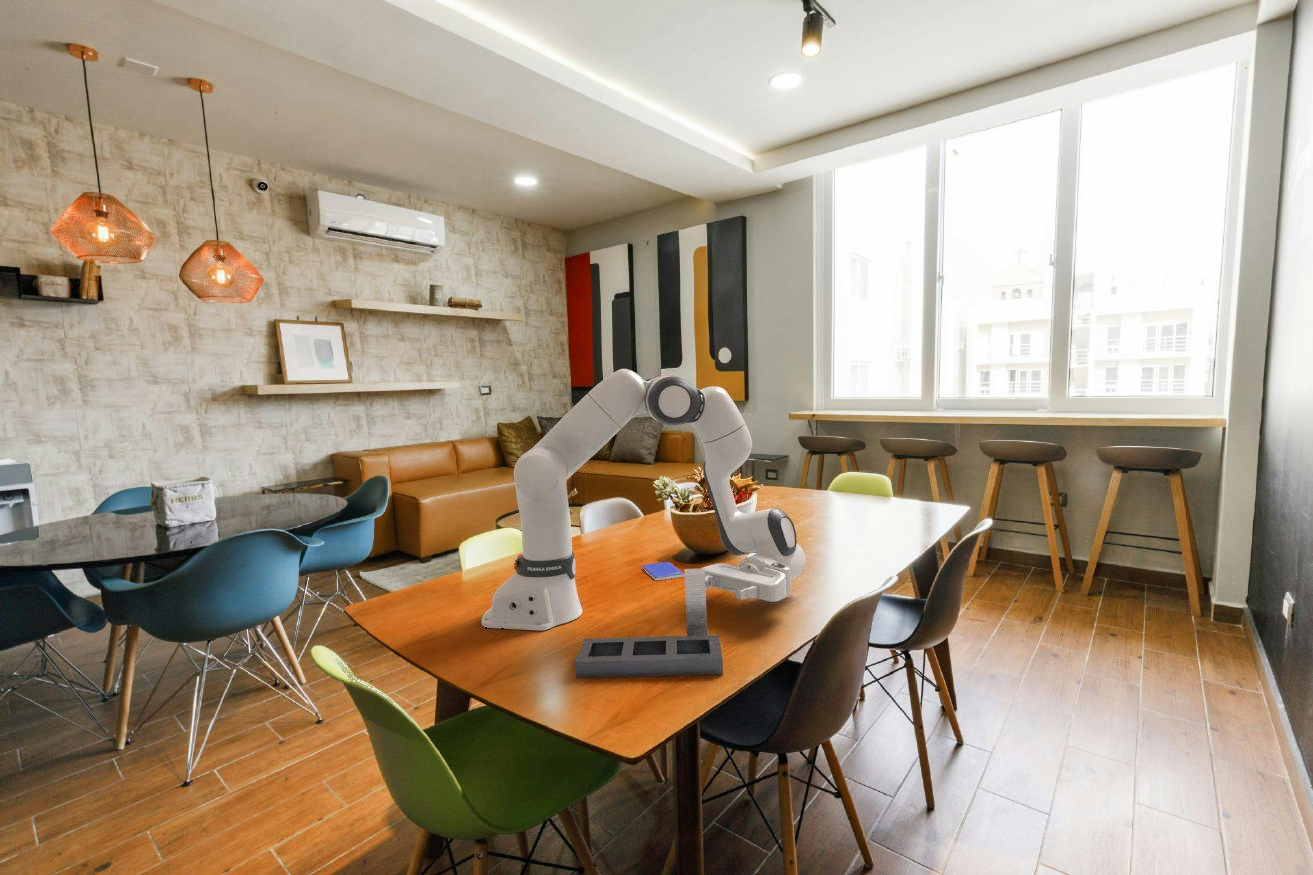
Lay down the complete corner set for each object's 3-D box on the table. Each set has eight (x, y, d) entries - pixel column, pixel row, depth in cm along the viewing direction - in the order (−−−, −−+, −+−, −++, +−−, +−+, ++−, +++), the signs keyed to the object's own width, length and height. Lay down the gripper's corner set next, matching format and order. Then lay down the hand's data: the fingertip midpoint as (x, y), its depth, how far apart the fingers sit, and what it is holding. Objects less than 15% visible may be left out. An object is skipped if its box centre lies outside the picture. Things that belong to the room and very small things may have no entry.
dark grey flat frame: (575, 678, 104) (575, 661, 104) (584, 653, 114) (583, 638, 114) (723, 674, 103) (722, 658, 103) (719, 649, 113) (718, 634, 113)
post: (687, 644, 117) (684, 575, 116) (687, 636, 121) (684, 569, 120) (707, 643, 116) (705, 574, 115) (706, 635, 120) (704, 568, 119)
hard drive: (684, 572, 160) (668, 561, 172) (655, 577, 157) (641, 565, 169) (684, 578, 160) (668, 566, 172) (656, 582, 157) (642, 570, 169)
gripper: (720, 553, 141) (682, 567, 131) (796, 568, 127) (759, 585, 117) (721, 579, 141) (683, 595, 131) (797, 597, 127) (760, 616, 117)
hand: (719, 590), depth 124 cm, fingers open, 8 cm apart
